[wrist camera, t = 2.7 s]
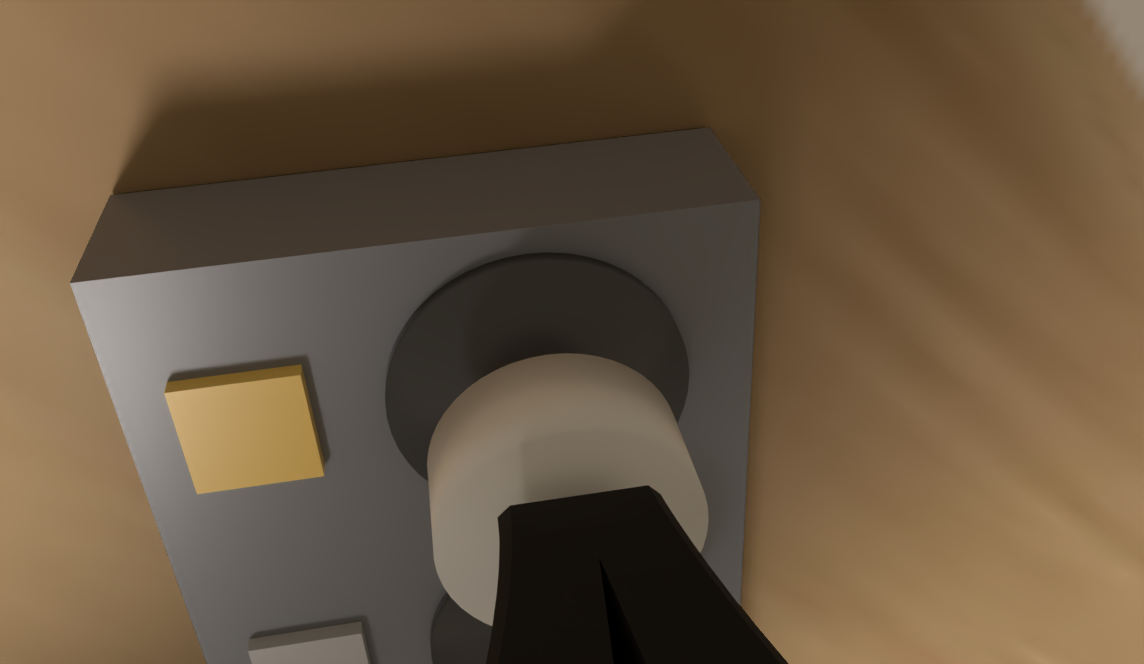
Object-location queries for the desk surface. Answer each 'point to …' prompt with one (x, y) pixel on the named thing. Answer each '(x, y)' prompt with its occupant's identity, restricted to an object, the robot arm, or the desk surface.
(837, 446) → the desk surface
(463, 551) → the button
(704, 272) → the switch panel
